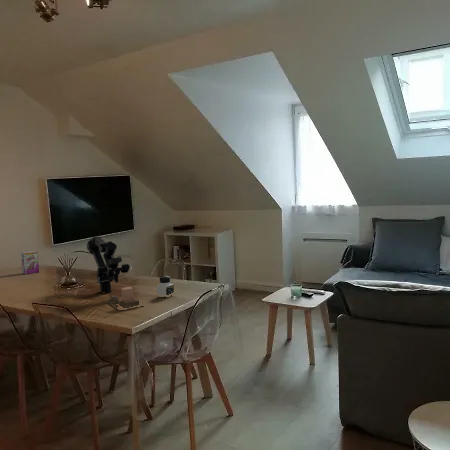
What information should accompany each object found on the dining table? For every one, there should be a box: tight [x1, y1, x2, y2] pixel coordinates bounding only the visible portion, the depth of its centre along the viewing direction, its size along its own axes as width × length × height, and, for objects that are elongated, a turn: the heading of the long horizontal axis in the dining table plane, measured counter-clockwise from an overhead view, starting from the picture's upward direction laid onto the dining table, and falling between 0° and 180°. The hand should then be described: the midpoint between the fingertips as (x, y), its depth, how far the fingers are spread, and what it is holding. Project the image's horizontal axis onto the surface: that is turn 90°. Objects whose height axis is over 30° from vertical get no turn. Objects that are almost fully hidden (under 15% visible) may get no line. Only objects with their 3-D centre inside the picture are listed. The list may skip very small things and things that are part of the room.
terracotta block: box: [120, 286, 135, 303], centre depth 251 cm, size 5×5×9 cm
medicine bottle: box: [156, 275, 175, 295], centre depth 268 cm, size 7×7×12 cm
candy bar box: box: [20, 250, 40, 275], centre depth 349 cm, size 11×5×16 cm, turn 130°
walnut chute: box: [105, 294, 140, 309], centre depth 256 cm, size 24×14×4 cm, turn 32°
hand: (117, 282), depth 264 cm, fingers closed
